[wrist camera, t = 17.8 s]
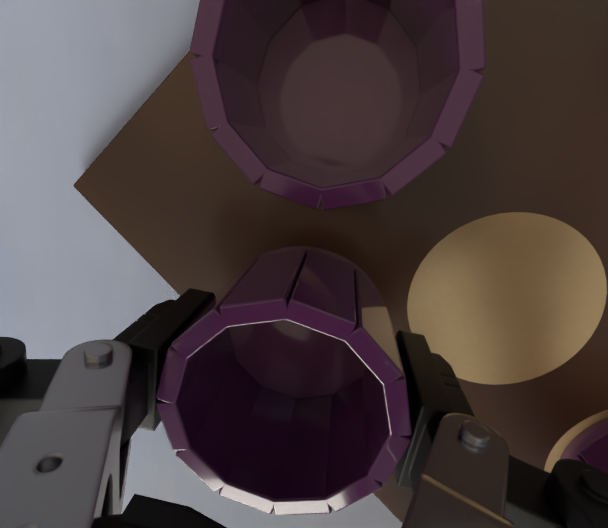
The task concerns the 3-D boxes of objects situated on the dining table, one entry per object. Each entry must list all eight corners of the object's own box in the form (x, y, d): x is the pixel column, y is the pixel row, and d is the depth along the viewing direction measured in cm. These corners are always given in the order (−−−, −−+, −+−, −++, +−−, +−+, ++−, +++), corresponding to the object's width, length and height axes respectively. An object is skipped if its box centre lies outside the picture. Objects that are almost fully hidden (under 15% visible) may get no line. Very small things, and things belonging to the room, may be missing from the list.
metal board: (481, 595, 18) (486, 610, 17) (83, 183, 14) (71, 185, 13) (936, 419, 13) (963, 432, 12) (527, -323, 9) (539, -356, 8)
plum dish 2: (294, 423, 13) (271, 547, 9) (188, 312, 13) (109, 394, 8) (424, 341, 12) (465, 445, 8) (312, 208, 11) (291, 244, 7)
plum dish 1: (326, 220, 12) (316, 258, 8) (212, 85, 12) (137, 52, 7) (470, 101, 11) (547, 74, 7) (352, -66, 10) (355, -217, 6)
